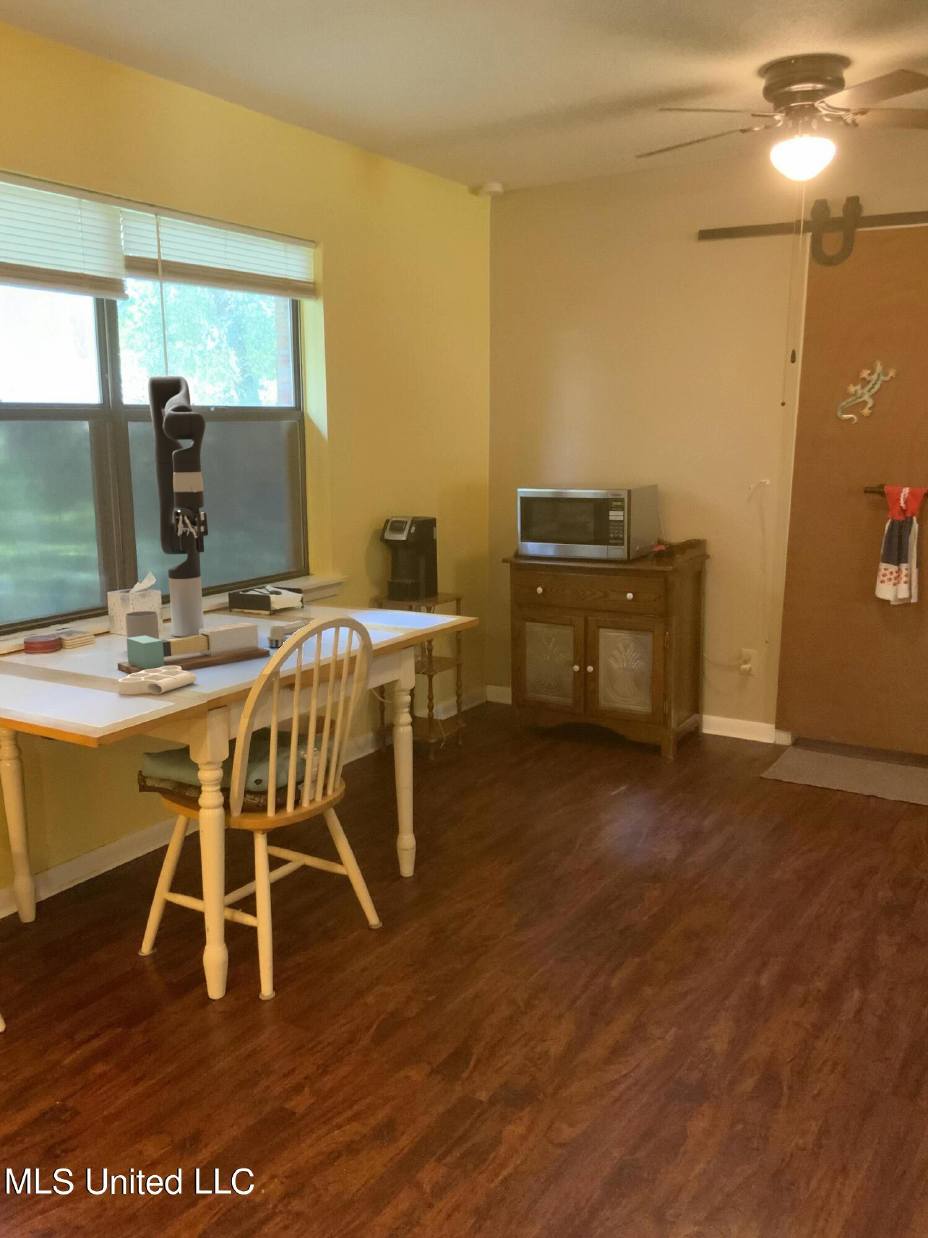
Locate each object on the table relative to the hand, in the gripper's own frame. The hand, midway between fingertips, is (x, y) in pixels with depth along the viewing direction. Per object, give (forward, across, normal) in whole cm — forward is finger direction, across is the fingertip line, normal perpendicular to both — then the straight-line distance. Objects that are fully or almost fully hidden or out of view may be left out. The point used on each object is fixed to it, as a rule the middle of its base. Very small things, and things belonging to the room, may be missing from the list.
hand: (192, 551), depth 273 cm
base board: (+28, +8, -5) cm, 30 cm away
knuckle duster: (+29, +26, -24) cm, 46 cm away
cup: (+28, -19, -7) cm, 35 cm away
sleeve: (+27, +8, +5) cm, 28 cm away
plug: (+25, +8, -8) cm, 28 cm away
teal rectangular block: (+27, +8, -19) cm, 33 cm away
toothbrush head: (+29, 0, +29) cm, 41 cm away
